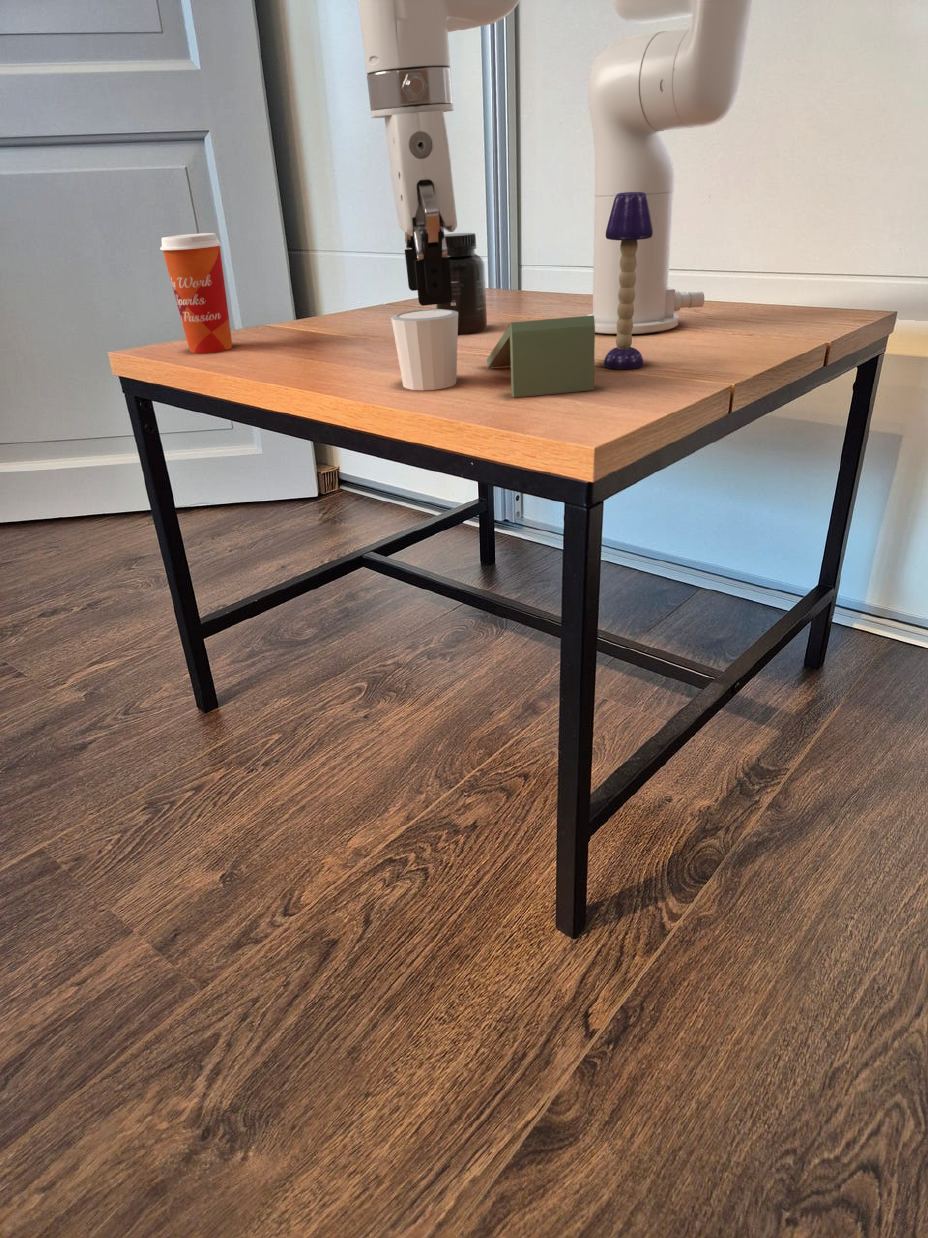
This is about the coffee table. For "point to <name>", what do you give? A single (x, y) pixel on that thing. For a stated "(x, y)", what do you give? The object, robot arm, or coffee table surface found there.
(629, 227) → the toy lamp
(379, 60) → the robot arm
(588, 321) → the green tent sign
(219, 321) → the paper cup
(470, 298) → the supplement bottle
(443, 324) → the white faceted cup
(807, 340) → the coffee table surface
